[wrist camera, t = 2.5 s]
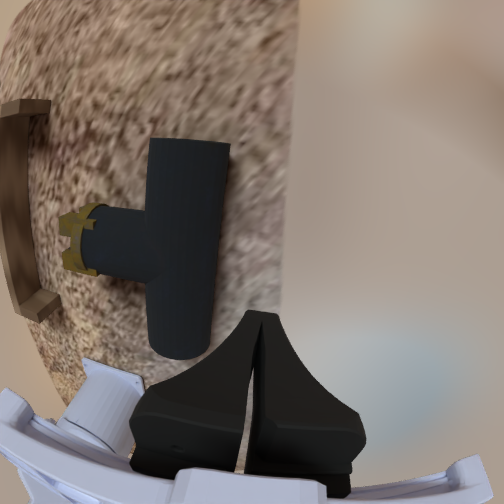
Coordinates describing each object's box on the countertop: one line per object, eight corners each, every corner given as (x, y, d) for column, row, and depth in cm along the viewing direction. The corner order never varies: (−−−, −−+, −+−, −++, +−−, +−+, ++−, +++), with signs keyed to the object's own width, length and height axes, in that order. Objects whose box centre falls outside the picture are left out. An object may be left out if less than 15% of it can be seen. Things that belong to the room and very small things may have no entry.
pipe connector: (71, 331, 20) (52, 139, 14) (99, 300, 24) (95, 136, 19) (202, 367, 19) (223, 143, 14) (215, 325, 24) (235, 143, 19)
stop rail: (61, 304, 25) (39, 323, 21) (36, 295, 25) (15, 312, 21) (50, 100, 18) (20, 98, 14) (24, 106, 18) (-5, 106, 14)
